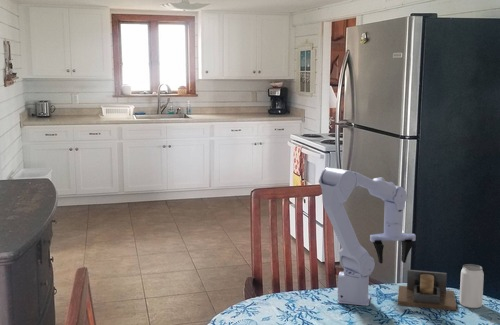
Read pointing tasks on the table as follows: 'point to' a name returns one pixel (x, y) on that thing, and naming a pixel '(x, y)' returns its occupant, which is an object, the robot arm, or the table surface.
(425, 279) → the dowel
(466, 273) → the can
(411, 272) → the bracket
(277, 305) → the table surface
